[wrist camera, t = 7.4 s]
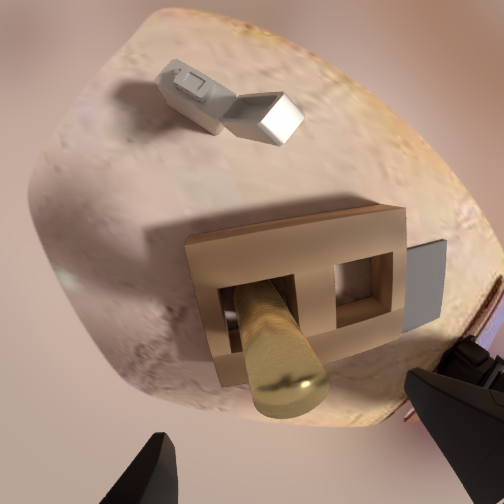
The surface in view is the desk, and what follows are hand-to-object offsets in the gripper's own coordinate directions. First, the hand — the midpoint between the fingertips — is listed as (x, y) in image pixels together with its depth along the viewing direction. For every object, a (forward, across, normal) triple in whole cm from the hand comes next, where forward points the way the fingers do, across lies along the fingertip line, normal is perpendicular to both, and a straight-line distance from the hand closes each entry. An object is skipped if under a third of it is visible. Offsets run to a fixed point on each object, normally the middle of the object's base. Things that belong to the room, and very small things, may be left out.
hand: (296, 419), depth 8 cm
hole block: (+11, -4, 0) cm, 12 cm away
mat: (+11, -15, +3) cm, 19 cm away
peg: (+11, 0, 0) cm, 11 cm away
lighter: (+12, 0, -12) cm, 17 cm away
